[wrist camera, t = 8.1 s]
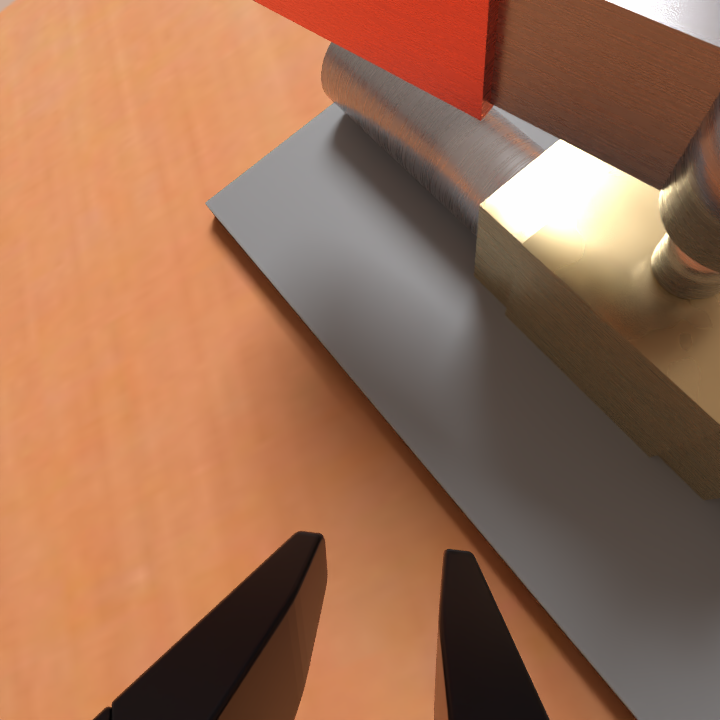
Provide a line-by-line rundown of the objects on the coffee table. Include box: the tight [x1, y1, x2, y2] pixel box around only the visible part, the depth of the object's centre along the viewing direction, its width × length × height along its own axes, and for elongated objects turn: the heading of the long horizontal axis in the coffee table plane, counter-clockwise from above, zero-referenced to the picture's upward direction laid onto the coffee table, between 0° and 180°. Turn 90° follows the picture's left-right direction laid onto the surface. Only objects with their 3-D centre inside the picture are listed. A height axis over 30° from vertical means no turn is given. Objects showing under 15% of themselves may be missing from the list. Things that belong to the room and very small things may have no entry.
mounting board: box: [205, 103, 720, 720], centre depth 16 cm, size 26×14×1 cm, turn 39°
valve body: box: [321, 42, 720, 500], centre depth 13 cm, size 25×4×6 cm, turn 39°
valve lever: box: [253, 0, 720, 273], centre depth 10 cm, size 13×3×3 cm, turn 51°
